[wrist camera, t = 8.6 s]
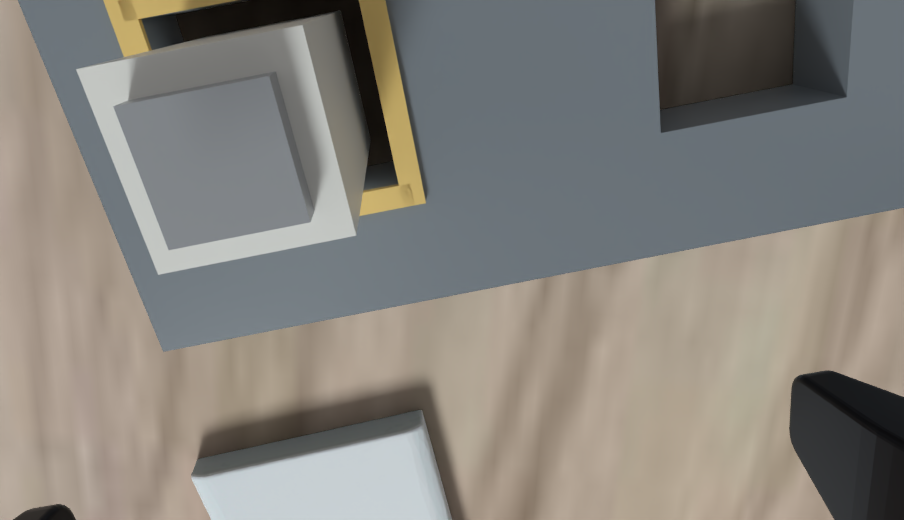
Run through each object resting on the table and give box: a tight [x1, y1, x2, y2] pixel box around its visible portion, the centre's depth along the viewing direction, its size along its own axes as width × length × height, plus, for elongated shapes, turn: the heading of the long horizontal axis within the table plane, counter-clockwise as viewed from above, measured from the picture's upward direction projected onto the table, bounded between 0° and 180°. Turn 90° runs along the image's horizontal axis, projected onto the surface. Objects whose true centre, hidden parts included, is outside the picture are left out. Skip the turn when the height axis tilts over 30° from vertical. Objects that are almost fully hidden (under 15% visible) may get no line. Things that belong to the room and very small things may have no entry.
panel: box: [18, 0, 904, 352], centre depth 17 cm, size 22×12×3 cm, turn 99°
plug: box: [76, 10, 371, 275], centre depth 14 cm, size 4×4×9 cm
